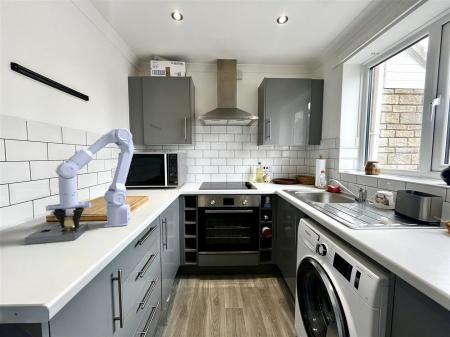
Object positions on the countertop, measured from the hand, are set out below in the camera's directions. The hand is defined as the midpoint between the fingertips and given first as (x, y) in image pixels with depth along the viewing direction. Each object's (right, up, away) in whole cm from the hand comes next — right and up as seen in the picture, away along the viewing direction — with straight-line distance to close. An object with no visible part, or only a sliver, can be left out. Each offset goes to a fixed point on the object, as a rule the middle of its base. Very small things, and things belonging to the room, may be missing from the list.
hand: (70, 226), depth 83 cm
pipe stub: (0, -2, 0) cm, 2 cm away
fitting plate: (-4, -4, -1) cm, 5 cm away
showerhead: (-13, -3, +14) cm, 19 cm away
